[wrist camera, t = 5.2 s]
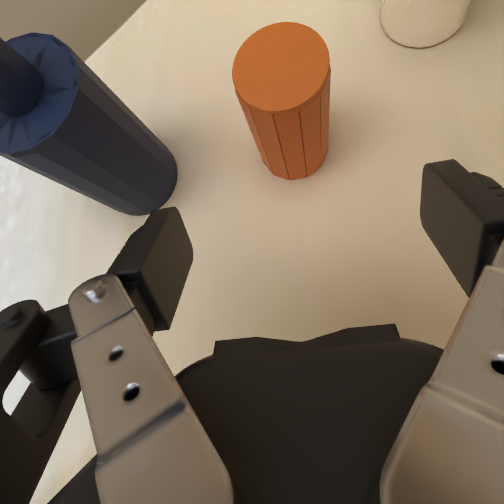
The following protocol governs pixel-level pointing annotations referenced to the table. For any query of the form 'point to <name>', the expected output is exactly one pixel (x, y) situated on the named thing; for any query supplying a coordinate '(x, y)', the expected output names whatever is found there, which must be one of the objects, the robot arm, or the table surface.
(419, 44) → the silver metal tumbler
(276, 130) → the grooved orange cylinder
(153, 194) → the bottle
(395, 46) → the table surface
